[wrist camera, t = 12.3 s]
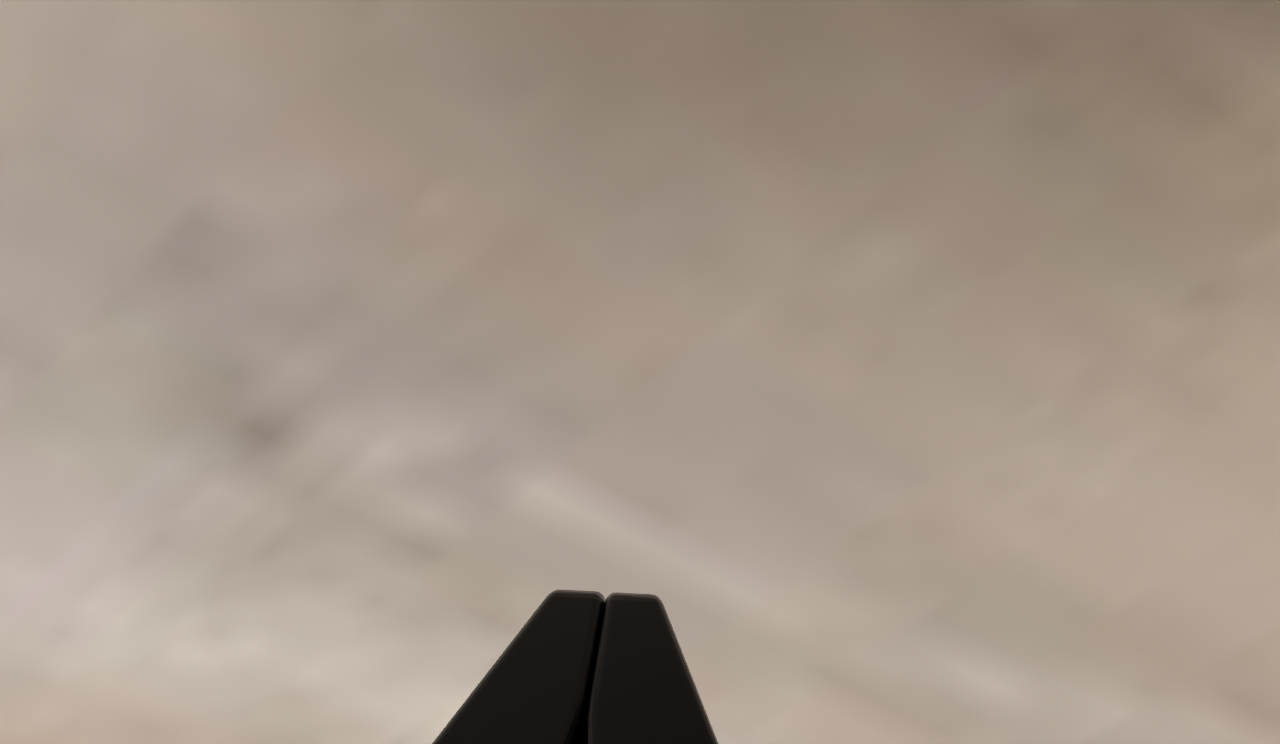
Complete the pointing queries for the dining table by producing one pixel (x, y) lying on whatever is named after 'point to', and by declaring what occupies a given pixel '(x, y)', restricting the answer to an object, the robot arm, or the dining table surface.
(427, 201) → the dining table surface
